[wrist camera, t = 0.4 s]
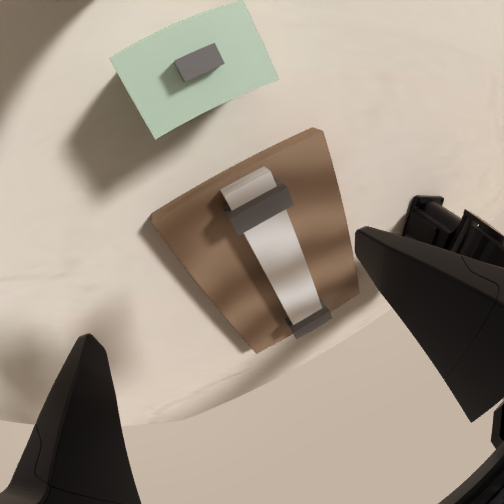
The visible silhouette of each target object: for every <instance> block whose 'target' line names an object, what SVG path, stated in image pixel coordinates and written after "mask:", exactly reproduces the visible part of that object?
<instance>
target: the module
mask: <svg viewBox="0 0 504 504" xmlns="http://www.w3.org/2000/svg"><path fill="white" fill-rule="evenodd" d="M109 59H110V61H111V63H112V64H113V66H114V68H115V70H116V72H117V73H118V75H119V77H120V79H121V81H122V82H123V84H124V86H125V88H126V89H127V91H128V93H129V95H130V97H131V98H132V100H133V102H134V104H135V105H136V107H137V109H138V111H139V112H140V114H141V116H142V118H143V119H144V121H145V123H146V124H147V126H148V128H149V130H150V131H151V133H152V135H153V136H154V138H155V140H156V139H157V138H159V137H161V136H162V135H164V134H166V133H167V132H169V131H171V130H173V129H174V128H176V127H178V126H180V125H182V124H183V123H185V122H187V121H189V120H191V119H193V118H195V117H197V116H198V115H200V114H202V113H204V112H206V111H208V110H210V109H212V108H214V107H216V106H219V105H221V104H223V103H225V102H227V101H229V100H231V99H233V98H236V97H238V96H240V95H242V94H245V93H247V92H249V91H252V90H254V89H256V88H259V87H261V86H264V85H266V84H269V83H271V82H274V81H277V80H279V78H278V75H277V73H276V71H275V68H274V66H273V64H272V61H271V59H270V57H269V54H268V52H267V50H266V48H265V45H264V43H263V41H262V39H261V37H260V34H259V32H258V30H257V28H256V26H255V24H254V22H253V20H252V18H251V16H250V14H249V12H248V10H247V8H246V6H245V4H244V2H243V0H240V1H236V2H233V3H230V4H226V5H223V6H220V7H217V8H214V9H211V10H208V11H205V12H203V13H200V14H197V15H195V16H192V17H190V18H187V19H185V20H182V21H180V22H178V23H175V24H173V25H171V26H168V27H166V28H164V29H162V30H160V31H158V32H156V33H154V34H152V35H150V36H148V37H146V38H144V39H142V40H140V41H138V42H136V43H134V44H133V45H131V46H129V47H127V48H125V49H124V50H122V51H120V52H119V53H117V54H115V55H114V56H112V57H110V58H109Z"/></svg>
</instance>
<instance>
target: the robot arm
mask: <svg viewBox="0 0 504 504" xmlns="http://www.w3.org/2000/svg"><path fill="white" fill-rule="evenodd" d="M443 201H444V198H443V197H441V196H421V195H417V196H416V197H415V198H414V201H413V204H412V208H411V211H410V214H409V217H408V221H407V224H406V227H405V230H404V233H403V236H400V235H396V234H393V233H389V232H386V231H382V230H379V229H375V228H372V227H368V226H365V227H363V228H360V229H358V230H357V231H356V233H355V254H356V256H357V258H358V259H359V261H360V262H361V264H362V265H363V267H364V268H365V270H366V271H367V273H368V274H369V276H370V277H371V279H372V281H373V282H374V284H375V285H376V287H377V288H378V290H379V291H380V292H381V294H382V295H383V296H384V298H385V299H386V300H387V301H388V303H389V304H390V305H391V306H392V308H393V309H394V310H395V312H396V313H397V314H398V316H399V317H400V318H401V319H402V321H403V322H404V323H405V325H406V326H407V328H408V329H409V330H410V332H411V333H412V334H413V336H414V337H415V338H416V340H417V341H418V343H419V344H420V345H421V347H422V348H423V350H424V351H425V352H426V354H427V355H428V357H429V358H430V360H431V361H432V363H433V364H434V365H435V367H436V368H437V370H438V371H439V373H440V374H441V376H442V377H443V379H445V380H444V381H445V382H446V383H447V385H448V387H449V388H450V390H451V391H452V393H453V395H454V396H455V398H456V399H457V401H458V402H459V404H460V406H461V407H462V409H463V411H464V412H465V414H466V416H467V417H468V419H469V420H470V422H473V421H474V420H476V419H477V418H478V417H480V416H481V415H483V414H484V413H485V412H487V411H488V410H489V409H490V408H492V407H493V406H494V405H495V404H497V403H498V402H499V401H500V400H501V399H503V402H502V403H501V404H500V405H499V406H498V408H497V409H496V410H495V411H494V416H493V427H492V435H491V442H492V444H493V445H494V447H495V448H496V450H495V451H494V452H493V454H492V455H491V456H490V457H489V458H488V459H487V460H486V461H485V462H484V463H483V464H482V465H481V466H480V467H479V468H478V469H477V470H476V471H475V472H474V473H473V474H472V475H471V476H470V477H469V478H468V479H467V480H466V481H465V482H463V483H462V484H461V485H460V486H459V487H458V488H457V489H456V490H454V491H453V492H452V493H451V494H450V495H449V496H447V497H446V498H445V499H444V500H442V501H441V502H440V503H439V504H504V236H503V235H502V234H501V233H500V232H499V231H497V230H496V229H495V228H493V227H492V226H491V225H490V224H488V223H487V222H485V221H484V220H482V219H481V218H479V217H478V216H476V215H475V214H473V213H471V212H469V211H467V210H466V209H465V210H464V214H463V217H462V219H461V218H460V217H458V216H457V215H455V214H454V213H452V212H451V211H449V210H448V209H446V208H444V207H443V206H442V204H443ZM478 224H479V226H477V225H478ZM0 504H141V501H140V498H139V495H138V492H137V489H136V485H135V482H134V478H133V475H132V471H131V467H130V464H129V460H128V456H127V452H126V448H125V443H124V438H123V433H122V428H121V423H120V417H119V412H118V406H117V399H116V394H115V389H114V385H113V381H112V376H111V372H110V367H109V363H108V358H107V353H106V351H105V349H104V347H103V346H102V345H101V344H100V343H99V342H98V341H97V340H96V339H95V338H94V336H93V335H91V334H85V335H82V336H80V337H79V338H78V339H77V341H76V343H75V345H74V346H73V348H72V350H71V352H70V354H69V355H68V357H67V359H66V361H65V363H64V365H63V367H62V369H61V371H60V373H59V374H58V376H57V378H56V380H55V382H54V384H53V386H52V389H51V391H50V393H49V395H48V397H47V399H46V401H45V403H44V406H43V408H42V410H41V412H40V414H39V417H38V419H37V421H36V424H35V426H34V428H33V431H32V433H31V436H30V438H29V441H28V443H27V445H26V448H25V450H24V452H23V454H22V457H21V459H20V461H19V463H18V465H17V468H16V470H15V472H14V475H13V477H12V480H11V482H10V484H9V485H8V487H7V488H6V489H5V490H4V491H3V492H1V493H0Z"/></svg>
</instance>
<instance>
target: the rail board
mask: <svg viewBox="0 0 504 504" xmlns="http://www.w3.org/2000/svg"><path fill="white" fill-rule="evenodd" d="M151 219H152V224H153V225H154V227H155V228H156V229H157V231H158V232H159V233H160V235H161V236H162V238H163V239H164V240H165V242H166V243H167V244H168V246H169V247H170V248H171V250H172V251H173V252H174V254H175V255H176V256H177V258H178V259H179V260H180V261H181V263H182V264H183V265H184V267H185V268H186V269H187V270H188V272H189V273H190V274H191V276H192V277H193V278H194V279H195V281H196V282H197V283H198V285H199V286H200V287H201V288H202V290H203V291H204V292H205V293H206V295H207V296H208V297H209V298H210V299H211V301H212V302H213V303H214V304H215V306H216V307H217V308H218V309H219V310H220V312H221V313H222V314H223V315H224V316H225V318H226V319H227V320H228V321H229V322H230V324H231V325H232V326H233V327H234V328H235V330H236V331H237V332H238V333H239V334H240V335H241V337H242V338H243V339H244V340H245V341H246V342H247V343H248V345H249V346H250V347H251V348H252V349H253V350H254V351H255V353H256V354H257V353H259V352H261V351H263V350H264V349H266V348H268V347H270V346H272V345H274V344H275V343H277V342H279V341H281V340H283V339H285V338H286V337H288V336H290V335H292V334H294V336H295V338H296V339H298V338H300V337H302V336H303V335H305V334H307V333H308V332H310V331H312V330H314V329H315V328H317V327H319V326H320V325H322V324H324V323H325V322H327V321H328V320H330V319H332V317H331V314H330V311H332V310H334V309H335V308H337V307H338V306H340V305H342V304H343V303H345V302H346V301H348V300H349V299H351V298H352V297H354V296H355V295H357V294H359V287H358V280H357V274H356V268H355V262H354V257H353V251H352V246H351V241H350V236H349V231H348V226H347V221H346V217H345V212H344V208H343V204H342V199H341V195H340V191H339V187H338V183H337V179H336V175H335V171H334V168H333V164H332V160H331V157H330V153H329V150H328V146H327V143H326V139H325V136H324V133H323V131H322V130H319V129H316V128H310V129H308V130H306V131H304V132H302V133H299V134H297V135H295V136H293V137H291V138H289V139H286V140H284V141H282V142H280V143H278V144H276V145H274V146H272V147H270V148H268V149H266V150H264V151H262V152H260V153H258V154H256V155H254V156H252V157H250V158H248V159H246V160H244V161H242V162H240V163H238V164H236V165H235V166H233V167H231V168H229V169H227V170H225V171H223V172H222V173H220V174H218V175H216V176H214V177H212V178H211V179H209V180H207V181H205V182H204V183H202V184H200V185H198V186H196V187H195V188H193V189H191V190H190V191H188V192H186V193H184V194H183V195H181V196H179V197H178V198H176V199H174V200H173V201H171V202H169V203H168V204H166V205H164V206H163V207H161V208H160V209H158V210H156V211H155V212H153V213H152V214H151Z"/></svg>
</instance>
